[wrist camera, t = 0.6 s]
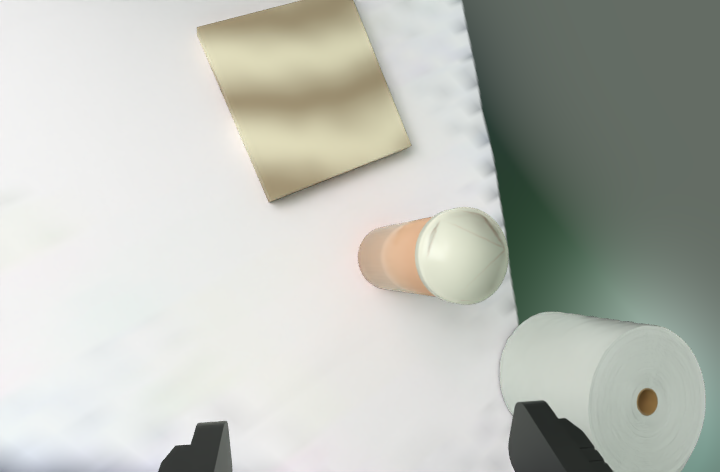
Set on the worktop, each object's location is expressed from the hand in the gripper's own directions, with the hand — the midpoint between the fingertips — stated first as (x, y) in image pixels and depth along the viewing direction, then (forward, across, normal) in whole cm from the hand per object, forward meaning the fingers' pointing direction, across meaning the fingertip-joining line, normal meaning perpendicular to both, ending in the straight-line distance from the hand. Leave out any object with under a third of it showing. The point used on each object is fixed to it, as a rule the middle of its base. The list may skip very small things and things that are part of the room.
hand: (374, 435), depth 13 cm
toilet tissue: (+22, -20, +17) cm, 34 cm away
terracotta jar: (+24, -5, +5) cm, 25 cm away
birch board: (+28, +1, -7) cm, 29 cm away
